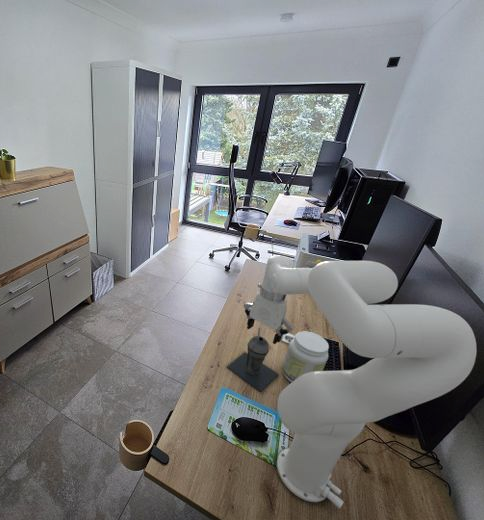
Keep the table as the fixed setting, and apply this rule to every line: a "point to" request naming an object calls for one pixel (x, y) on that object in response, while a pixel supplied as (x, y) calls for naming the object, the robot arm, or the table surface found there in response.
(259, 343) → the beverage cup
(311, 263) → the penguin figurine
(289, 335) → the vintage car picture box
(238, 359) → the mat
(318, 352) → the supplement tub
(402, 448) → the table surface
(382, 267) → the robot arm
